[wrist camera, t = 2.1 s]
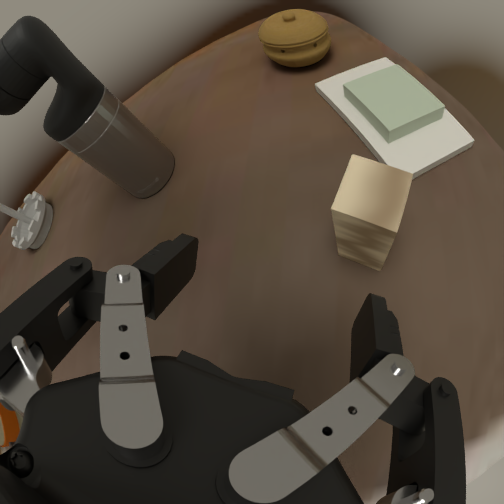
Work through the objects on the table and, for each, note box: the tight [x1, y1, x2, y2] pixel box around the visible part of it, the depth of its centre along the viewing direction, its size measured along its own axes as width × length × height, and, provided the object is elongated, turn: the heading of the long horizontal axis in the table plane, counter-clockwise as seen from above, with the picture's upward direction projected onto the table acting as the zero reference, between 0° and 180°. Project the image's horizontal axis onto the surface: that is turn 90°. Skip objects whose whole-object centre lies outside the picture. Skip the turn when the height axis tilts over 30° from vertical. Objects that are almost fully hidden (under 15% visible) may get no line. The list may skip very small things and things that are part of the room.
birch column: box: [331, 154, 413, 271], centre depth 25 cm, size 5×5×12 cm
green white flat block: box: [315, 57, 474, 179], centre depth 31 cm, size 20×14×4 cm
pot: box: [258, 9, 331, 67], centre depth 37 cm, size 12×12×10 cm
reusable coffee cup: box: [0, 403, 23, 447], centre depth 33 cm, size 13×13×15 cm
